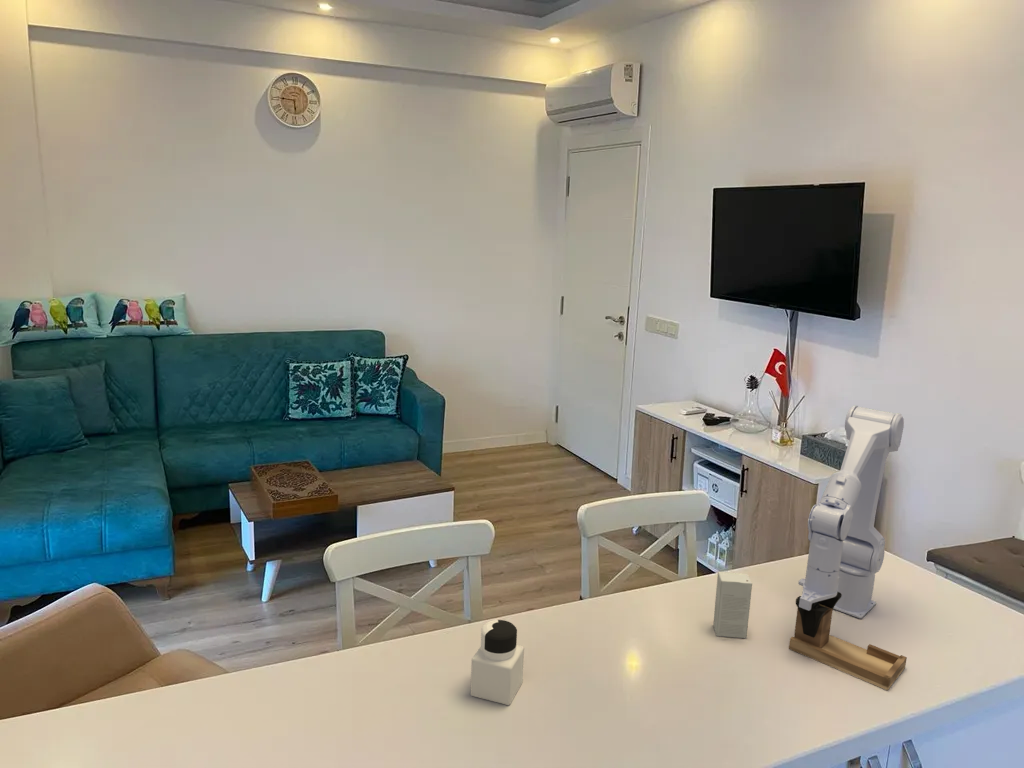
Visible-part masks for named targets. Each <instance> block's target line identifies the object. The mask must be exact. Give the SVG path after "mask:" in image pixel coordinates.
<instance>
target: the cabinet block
mask: <svg viewBox="0 0 1024 768" xmlns="http://www.w3.org/2000/svg"><path fill="white" fill-rule="evenodd" d="M819 605H821V604H819ZM821 606H824V605H821ZM824 607H826V606H824ZM826 608H828V610H827V611H826V612H825V613H824V615H823V617H822V619H821V621H820V624H819V628H818V631H817V633H816V635H815V637H814V638H813V637H810V636H808V635H806V634H804V633H803V628H802V620H801V615H800V612H799V609H798V607H797V609H796V619H795V629H794V635H793V637H795V638H797V639H799V640H802V641H804V642H807V643H809V644H812V645H814V646H817V647H819V648H822V647H823V646H824V645H825V644H827V643H828V642H829V635H831V634H830V633H831V625H832V618H833V610H834V609H832V608H829V607H826Z"/></svg>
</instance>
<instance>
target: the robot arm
mask: <svg viewBox="0 0 1024 768" xmlns="http://www.w3.org/2000/svg"><path fill="white" fill-rule="evenodd" d="M904 420H905V419H904V417H903V415H902V414H901V413H900V412H899V413H894V412H891V411H889V412H888V411H883V410H878V409H871V408H867V407H863V406H862V407H861V406H859V405H853V406H852V407H849V409H848V411H847V414H846V417H845V422H844V431H845V435H846V439H847V440H848V444H847V447H846V450H845V454H844V456H843V460H842V463H841V467H840V470H839V471H837V472H834V473H832V474H831V475H830V478H829V480H828V482H827V485H826V486H825V488H824V489H825V490H824V492H823V494H822V496H821V498H820V500H819V503H818V504H814V505H812V508H811V509H810V512H809V514H808V515H809V516H808V519H807V530H808V536H807V538H808V541H809V549H808V556H807V562H806V563H807V565H806V572H805V578H801V579H799V580H798V583H797V584H798V586H801V587H802V591H801V592H802V594H801V595H798V596H797V597H796V599H795V605H796V607H797V608H798V609H799V612H800V615H801V620H802V628H803V633H804V634H806V635H808V636H810V637H813V638H814V637H815V635H816V633H817V631H818V628H819V624H820V621H821V619H822V617H823V615H824V613H825V612H826V611H827V610H828V608H826V607H829V608H832V609H833V610H836V611H838V612H841V613H844V614H846V615H849V616H853V617H854V618H857V619H862V618H864V617H865V616H866V615H867V614H868V613H869V612H870V610H872V609H873V608H874V607H875V605H876V604H877V602H876V600H872V599H873V594H874V593H873V591H874V585H875V579H876V573H878V572H880V570H881V568H882V565H883V563H884V559H885V544H886V540H885V537H884V536H883V534H882V533H880V531H879V530H877V528H876V527H875V526H874V523H875V518H876V513H877V508H878V503H879V498H880V494H881V493H880V492H881V487H882V482H883V476H884V472H885V468H886V464H887V463H886V462H887V459H888V456H889V454H890V453H892V452H897V451H899V448H900V446H901V442H902V437H903V432H904V431H903V430H904V428H905V425H904V423H905V421H904ZM819 604H821V605H824V606H826V607H824V606H821V605H819Z"/></svg>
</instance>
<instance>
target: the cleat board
mask: <svg viewBox="0 0 1024 768" xmlns="http://www.w3.org/2000/svg"><path fill="white" fill-rule="evenodd" d="M788 650H791V651H793V652H795V653H798V654H800V655H802V656H805V657H807V658H809V659H812V660H814V661H817V662H820V663H821V664H824V665H826V666H828V667H831V668H833V669H836V670H837V671H838V670H839V671H841V672H842V673H845V674H848V675H850V676H852V677H855V678H857V679H860V680H862V681H864V682H867V683H869V684H871V685H872V686H873V685H874V686H876V687H878V688H881V689H883V690H886V691H889V689H890V688H891V687H892V685H893V684H895V681H896V680H897V679H898V677H899V676H900V675H901V674H902V672H903V671H904V670H905V668H906V664H907V658H908V657H907V656H904V655H898V654H896V653H895V652H891V651H888V650H886V649H884V648H881V647H878V646H875V645H872V644H870V643H869V644H868V645H867V647H866V648H864V647H862V646H859V645H856V644H854V643H851V642H848V641H847V640H843V639H841V638H838V637H836V636H834V635H832V634H830V635H829V642H828V643H827V644H825V645H824V646H823V647H822V648H819V647H817V646H814V645H812V644H809V643H807V642H804V641H802V640H799V639H797V638H795V637H794V636H791V637H789V645H788Z"/></svg>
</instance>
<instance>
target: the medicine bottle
mask: <svg viewBox="0 0 1024 768" xmlns="http://www.w3.org/2000/svg"><path fill="white" fill-rule="evenodd" d="M480 632H481V633H480V636H481V637H480V647H479V648H478V649H477V650H476V652H475V654H474V655H473V656H472V658H471V666H470V667H471V668H470V669H471V671H470V696H471V697H475V698H479V699H482V700H487V701H490V702H495V703H498V704H502V705H506V706H509V705H511V703H512V702H513V700H514V698H515V696H516V695H517V693H518V691H519V689H520V688H521V686H522V684H523V681H524V679H523V678H524V677H523V676H524V662H525V661H524V657H525V647H524V646H523V645H520V644H519V645H518V644H517V639H518V629H517V626H515V625H514V624H513V623H512V622H510V621H508V620H503V619H494V620H493V619H492V620H490V621H487V622H486V623H484V624H483V625H482V626H481V630H480Z"/></svg>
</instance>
